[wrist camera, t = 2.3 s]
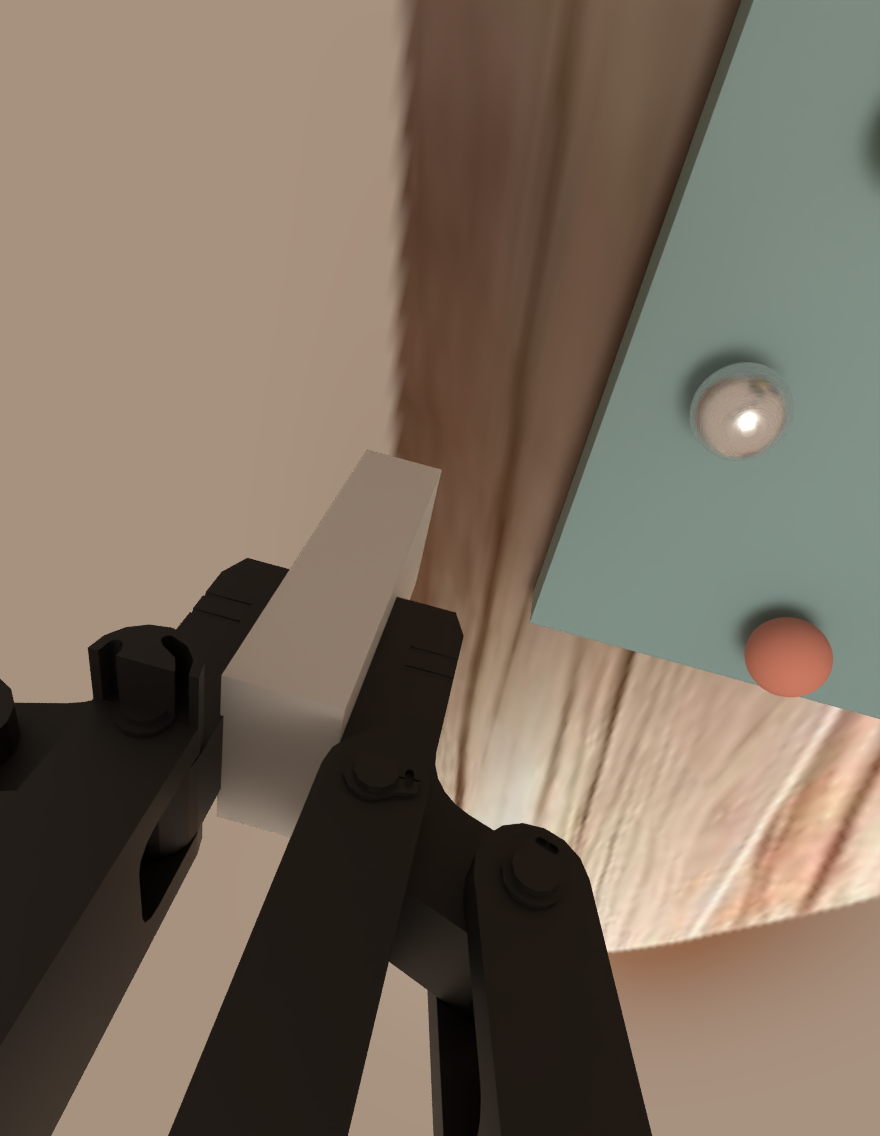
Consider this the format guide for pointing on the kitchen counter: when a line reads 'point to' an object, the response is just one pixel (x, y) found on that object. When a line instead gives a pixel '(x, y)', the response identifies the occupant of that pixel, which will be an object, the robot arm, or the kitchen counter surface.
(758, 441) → the steel ball
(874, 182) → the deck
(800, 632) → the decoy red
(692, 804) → the kitchen counter surface
